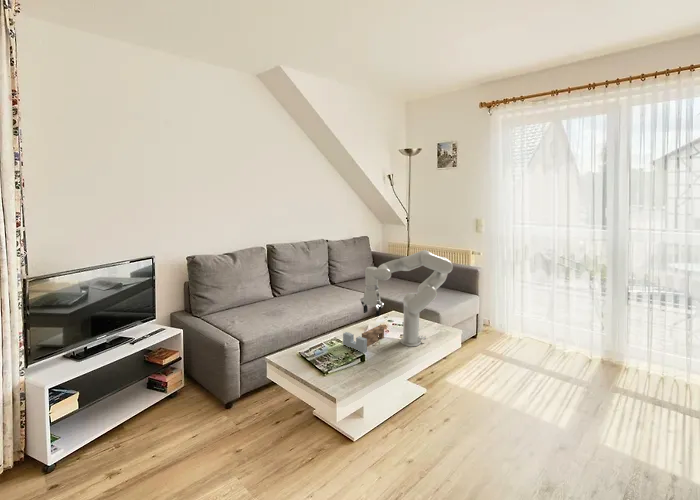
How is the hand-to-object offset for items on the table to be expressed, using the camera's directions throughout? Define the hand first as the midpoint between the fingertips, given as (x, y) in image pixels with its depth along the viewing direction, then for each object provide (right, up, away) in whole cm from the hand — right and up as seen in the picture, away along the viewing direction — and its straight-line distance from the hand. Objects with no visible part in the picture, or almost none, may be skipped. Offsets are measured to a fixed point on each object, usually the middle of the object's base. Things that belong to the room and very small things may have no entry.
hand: (371, 314), depth 238 cm
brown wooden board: (+1, -18, +4) cm, 18 cm away
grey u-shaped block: (-11, -20, -6) cm, 23 cm away
